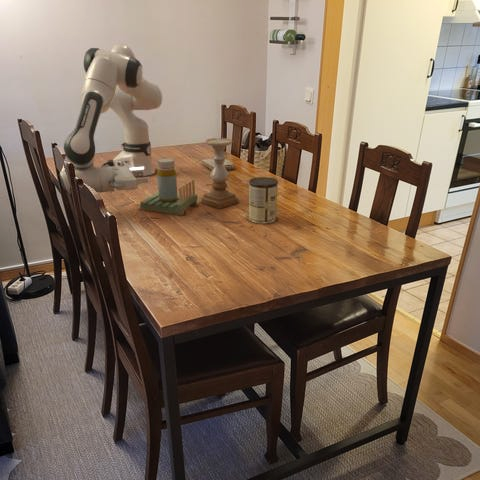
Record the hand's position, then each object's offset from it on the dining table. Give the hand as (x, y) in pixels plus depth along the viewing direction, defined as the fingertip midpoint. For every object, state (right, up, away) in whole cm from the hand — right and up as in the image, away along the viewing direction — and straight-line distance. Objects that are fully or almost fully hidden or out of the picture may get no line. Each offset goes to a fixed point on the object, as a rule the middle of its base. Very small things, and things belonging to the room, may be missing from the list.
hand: (145, 176), depth 179 cm
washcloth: (+24, +24, +64) cm, 72 cm away
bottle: (+7, -7, +8) cm, 13 cm away
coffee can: (+43, -16, -1) cm, 46 cm away
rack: (+7, -9, +9) cm, 15 cm away
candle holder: (+27, -6, +15) cm, 32 cm away
